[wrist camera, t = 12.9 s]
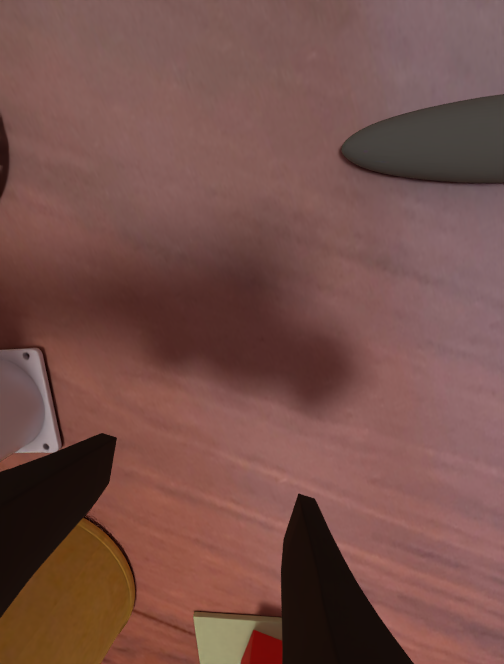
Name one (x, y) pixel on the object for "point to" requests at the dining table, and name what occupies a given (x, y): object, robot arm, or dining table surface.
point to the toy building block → (262, 650)
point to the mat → (230, 635)
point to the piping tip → (70, 603)
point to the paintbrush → (436, 143)
